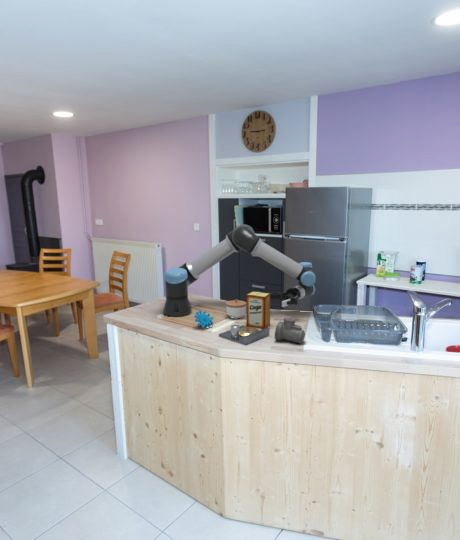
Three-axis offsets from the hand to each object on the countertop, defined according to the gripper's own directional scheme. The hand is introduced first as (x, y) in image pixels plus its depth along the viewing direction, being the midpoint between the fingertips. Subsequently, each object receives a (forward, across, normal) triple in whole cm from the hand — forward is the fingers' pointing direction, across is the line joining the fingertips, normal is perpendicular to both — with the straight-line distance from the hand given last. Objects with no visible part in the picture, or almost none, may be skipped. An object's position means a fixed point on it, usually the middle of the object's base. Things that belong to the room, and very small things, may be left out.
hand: (270, 302), depth 192 cm
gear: (+28, +18, -10) cm, 35 cm away
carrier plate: (+25, -4, -10) cm, 27 cm away
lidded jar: (+7, +17, -10) cm, 21 cm away
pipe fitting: (+17, -23, -10) cm, 30 cm away
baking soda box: (+10, 0, -10) cm, 14 cm away
